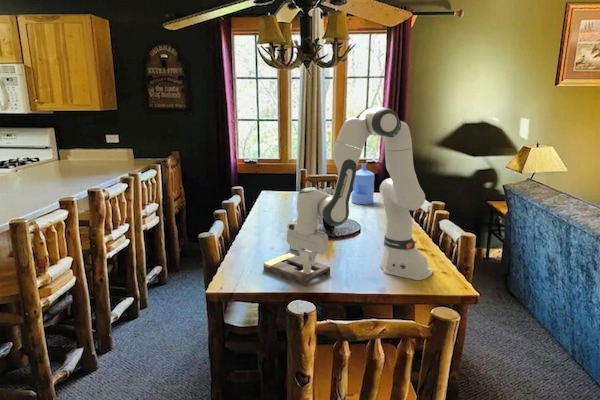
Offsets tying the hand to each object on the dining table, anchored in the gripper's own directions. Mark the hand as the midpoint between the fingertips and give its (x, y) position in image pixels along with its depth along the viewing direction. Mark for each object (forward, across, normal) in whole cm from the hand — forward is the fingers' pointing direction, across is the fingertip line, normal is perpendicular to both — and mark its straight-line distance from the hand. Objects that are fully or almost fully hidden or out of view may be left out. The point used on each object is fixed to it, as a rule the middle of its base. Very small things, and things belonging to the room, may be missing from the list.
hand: (307, 259), depth 174 cm
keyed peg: (+7, 0, 0) cm, 7 cm away
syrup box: (+8, +25, -22) cm, 34 cm away
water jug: (+8, +54, -123) cm, 135 cm away
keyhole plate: (+8, +6, 0) cm, 10 cm away
